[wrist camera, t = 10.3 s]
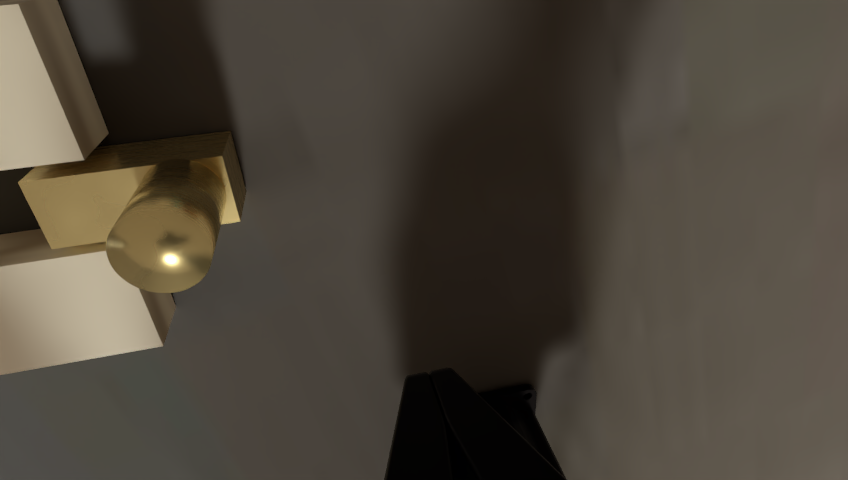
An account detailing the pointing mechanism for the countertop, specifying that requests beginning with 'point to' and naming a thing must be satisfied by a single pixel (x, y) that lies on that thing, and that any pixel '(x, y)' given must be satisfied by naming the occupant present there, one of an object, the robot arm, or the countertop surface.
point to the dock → (29, 250)
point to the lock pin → (144, 205)
